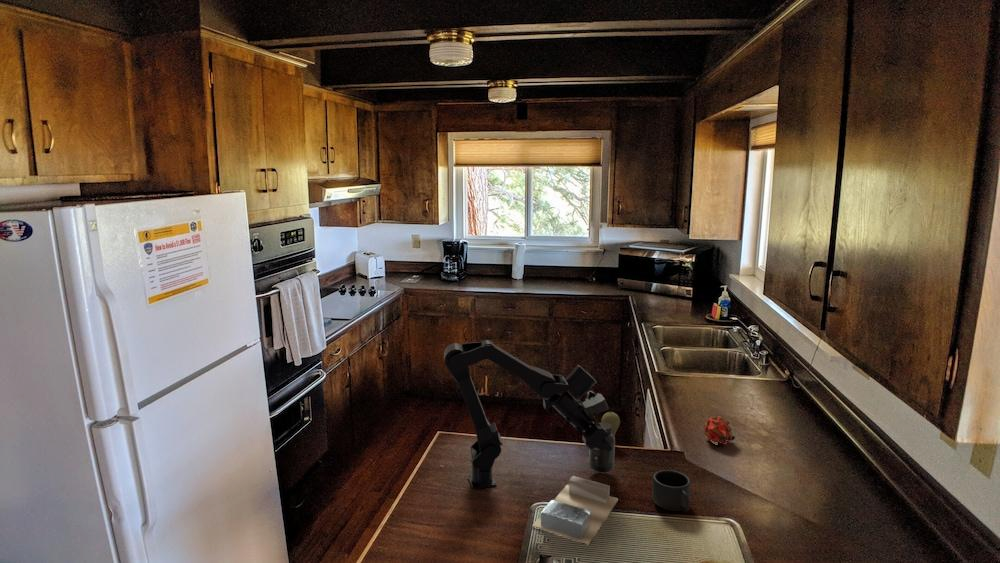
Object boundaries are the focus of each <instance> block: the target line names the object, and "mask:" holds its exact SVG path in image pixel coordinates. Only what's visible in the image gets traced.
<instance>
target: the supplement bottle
mask: <svg viewBox="0 0 1000 563" xmlns="http://www.w3.org/2000/svg"><path fill="white" fill-rule="evenodd" d="M598 423H599V424H600V425H602V427H604V429H605V430H606V432H607V436H606V437H605V438H606V440H607V441H608V442H609V444H610V445H611V447H612V448H613V449H612V450H611V451H606V450H603V449H599V448H595V447H594V448H593V449H591V450H590V449H589V451H588V452H589V455H588V457H589V458H588V464H589V468H590V469H591V470H593V471H594V472H595V471H596V472H598V473H608V472H611V471H613V470H614V467H615V454H616V451H615V450H616V438H615V436H613V435H612V426H611V425H610V424H608V423H602V422H598Z"/></svg>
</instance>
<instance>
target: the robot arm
mask: <svg viewBox="0 0 1000 563" xmlns="http://www.w3.org/2000/svg"><path fill="white" fill-rule="evenodd" d="M443 358H444V365H445V367H446V368H447V370H448V372H449V373H450V375H451V376H452V378H453V379H454V380H455V381H456V383H457V385H458V388H459V390H460V393H461V395H462V397H463V401H464V403H465V406H466V408H467V411H468V413H469V416H470V419H471V422H472V424H473V426H474V429H475V434H476V441H474V443H473V444H472V445H471V446H470V447H469V448H470V450H469V451H470V455H471V456H470V457H471V461H470V462H471V463H470V464H471V467H470V468H471V469H470V470H471V474H470V475H468V476H467V479H468V478H469V479H468V481H469V483H470V485H471V487H472V490H476V489H484V488H490V487H496V486H497V482H496V480H495V478H494V476H493V475H494V474H493V472H494V471H493V470H494V469H493V466H494V463H495V461H496V459H498V458H499V456H500V454H501V453H502V446H503V440H502V437H501V434H500V432H499V431H498V428H497V424H496V422H492V423H490V422H489V420H488V418H487V417H486V413H485V411H484V408H483V405H482V402H481V400H480V398H479V395H478V393H477V390H476V387H475V385H474V382H473V379H472V376H471V374H470V368H469V367H470V366H473V365H474V364H475V365H476V364H477V363H479V362H482V361H485V360H489V361H491V362H492V363H494V364H496V365H497V366H499V367H501V368H503V369H504V370H506V371H507V372H508V373H510V374H512V375H513V376H515V377H517V378H518V379H520V380H522V381H523V382H524V383H525V384H526V385H527V386H528V387H529V388H530V389H532V391H534V392H535V393H536V394H537V395H539V397H541V398H542V400H543V401H542V402H543V403H542V405H543V408H544V409H545V411H549V410H550V408H552V407H553V408H554V409H555V410H556V411H557V412H558V413H559V414H560V415H561V416H562V417H563V418H564V419H565V421H566V422H567V423H568V424H570V425H571V426H573V427H574V429H575V430H576V432H577V433H579V434H580V433H581V432H583V434H582V437H581V438H582V441H583V443H584V444H585V446H586V447H587V448H588V450H589V451H590V450H591V449H593V448H594V447H595V448H599V449H603V450H606V451H611V450H612V449H613V448H612V447H611V445H610V444H609V442H608V441H607V440H606V438H605V437H606V436H607V432H606V430H605V429H604V427H602V425H600V424H599V423H600V422H595V419H596V416H597V415H599V414H601V413H603V412H607V411H608V410H609V406H608V403H607V401H606V399H605V397H604V396H603V394H602V393H599V392H597V393H596V392H594V391H593V390H590V389H591V388H592V387H593V386H594V385H595V384H597V380H596V379H595V378H594V377H593V376H592V375H591V374H590V372H588V371H587V370H586V369H584V368H583V367H582V366H580V364H577V365H576V366H575V367H574V368H573V369H572V371H571V372H569V373H568V374H567V376H565V377H564V375H561V374H554V373H553V374H552V373H551V372H549V371H548V370H546V369H543V368H541V367H536V366H532V365H530V364H528V363H526V362H524V361H522V360H521V359H519V358H517V357H515V356H514V355H512V354H511V353H510V352H508V351H506V350H504V349H503V348H501V347H499V346H498V345H496V344H494V343H493V341H491V340H489V339H485V340H482V341H481V340H480V341H476V342H475V341H474V342H473V341H472V342H464V343H461V344H460V343H457V342H453V343H450V344H448V345H447V346H445V349H444V351H443ZM569 391H570V392H571V393H570V392H569ZM585 394H586V398H585V400H584V401H582V400H580V399H576V398H575V397H579V398H581V397H583V396H584V395H585Z"/></svg>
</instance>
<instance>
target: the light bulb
mask: <svg viewBox="0 0 1000 563" xmlns="http://www.w3.org/2000/svg"><path fill="white" fill-rule="evenodd" d="M620 419H621V418H620V417H619V415H618V414H617V413H615V412H613V411H608V412H607V411H606V413H604V414H603V416H602V417H601V423H608V424H610V425H611V426H612V435H613V436H614V437H615V436H616V433H617V431H618V429H619V427H620V424H621V420H620Z"/></svg>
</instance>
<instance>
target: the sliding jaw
mask: <svg viewBox="0 0 1000 563" xmlns="http://www.w3.org/2000/svg"><path fill="white" fill-rule="evenodd" d="M540 516H541V526H543V527H546V528H549V529H552V530H555V531H559V532H562V533H565V534H568V535H571V536H574V537H577V538H582V537H583V535H584V534H585V532H586V531H587V529H588V528H589V527H590V525H591V511H588V510H585V509H582V508H578V507H575V506H571V505H568V504H564V503H561V502H558V501H554V499H551V500H550V501H549V502H548V503H547V505H546V506H545V507H544V508H543V510H541V512H540Z"/></svg>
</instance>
